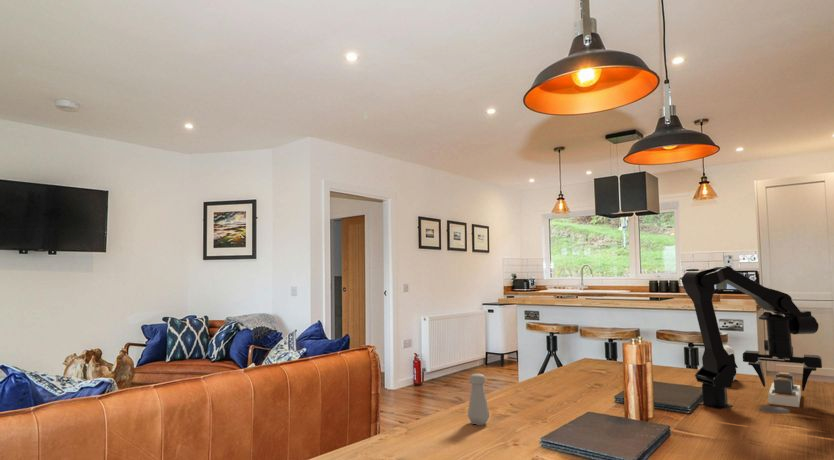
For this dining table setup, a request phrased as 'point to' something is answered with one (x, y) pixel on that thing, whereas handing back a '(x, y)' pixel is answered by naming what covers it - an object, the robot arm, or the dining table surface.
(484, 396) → the salt shaker
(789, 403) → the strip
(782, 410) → the coaster
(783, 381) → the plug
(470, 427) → the dining table surface
